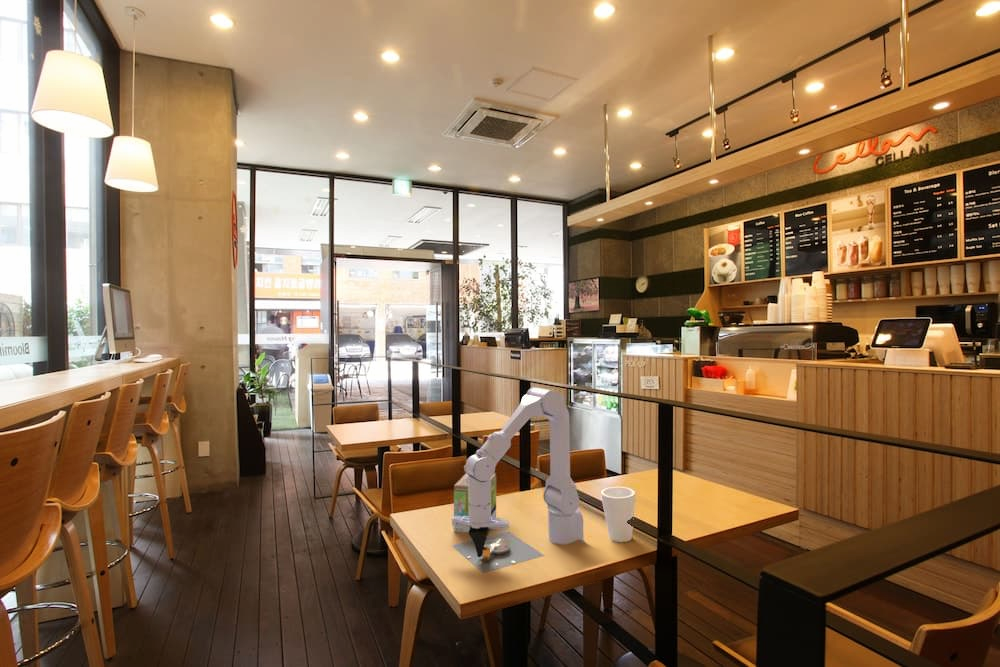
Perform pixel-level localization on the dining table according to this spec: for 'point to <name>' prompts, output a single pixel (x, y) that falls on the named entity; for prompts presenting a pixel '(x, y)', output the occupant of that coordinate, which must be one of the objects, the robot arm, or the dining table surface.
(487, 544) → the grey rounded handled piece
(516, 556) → the panel
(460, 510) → the tea box
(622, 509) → the foam cup
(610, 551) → the dining table surface
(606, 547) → the dining table surface
